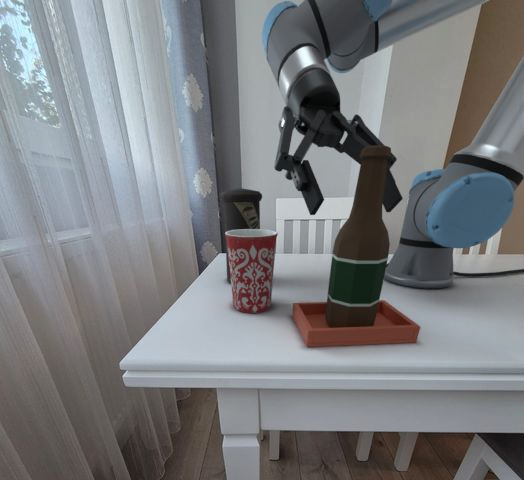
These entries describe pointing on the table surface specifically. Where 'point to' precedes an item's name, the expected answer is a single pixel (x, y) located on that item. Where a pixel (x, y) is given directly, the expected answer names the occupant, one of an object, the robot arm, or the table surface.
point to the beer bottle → (361, 248)
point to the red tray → (382, 332)
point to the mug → (251, 268)
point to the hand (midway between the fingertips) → (358, 206)
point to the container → (240, 213)
